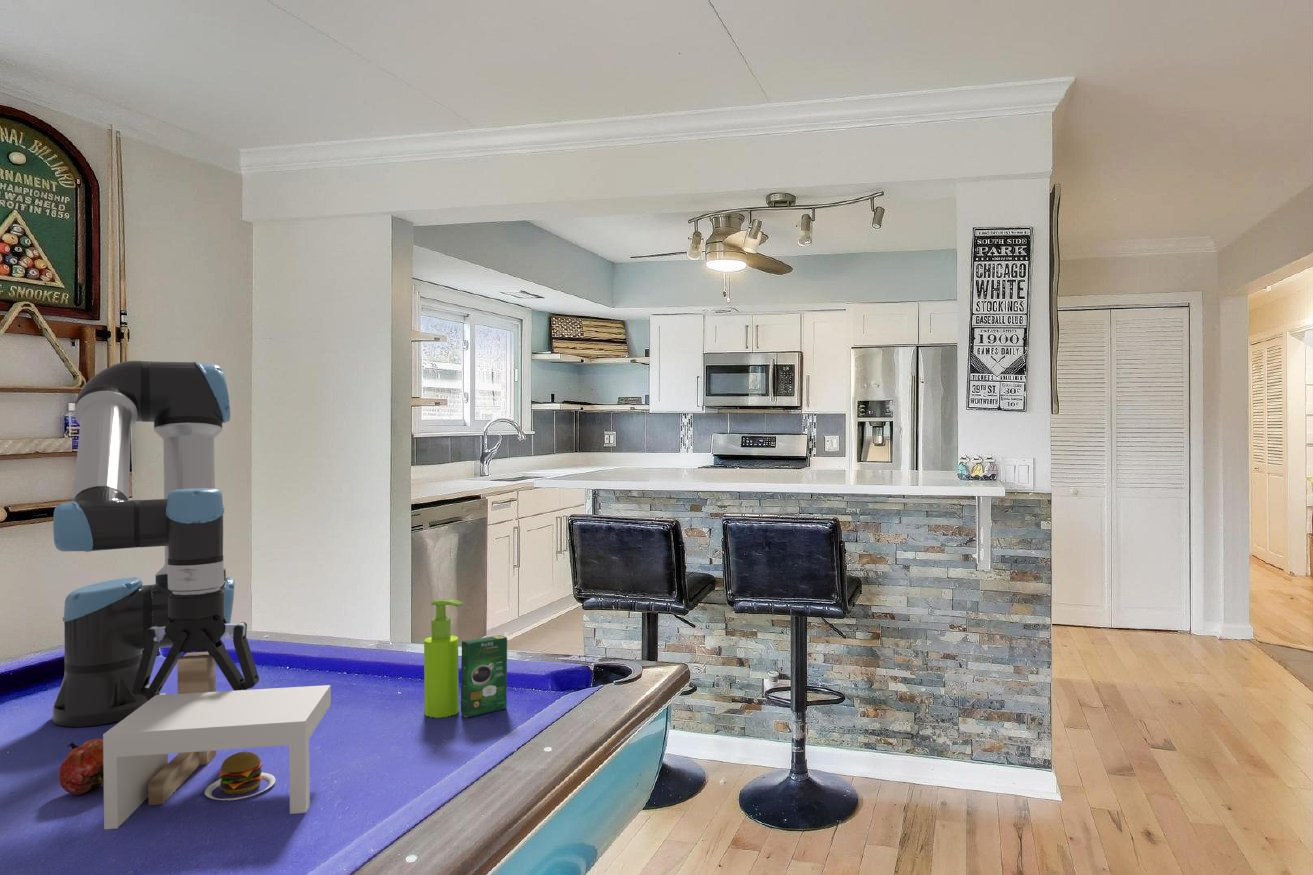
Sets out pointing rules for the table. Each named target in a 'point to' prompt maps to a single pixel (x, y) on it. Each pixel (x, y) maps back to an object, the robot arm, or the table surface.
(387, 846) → the table surface
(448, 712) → the soap dispenser
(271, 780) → the hamburger
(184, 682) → the block
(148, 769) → the shelf
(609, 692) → the table surface
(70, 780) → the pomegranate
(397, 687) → the table surface
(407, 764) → the table surface
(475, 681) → the coffee box
